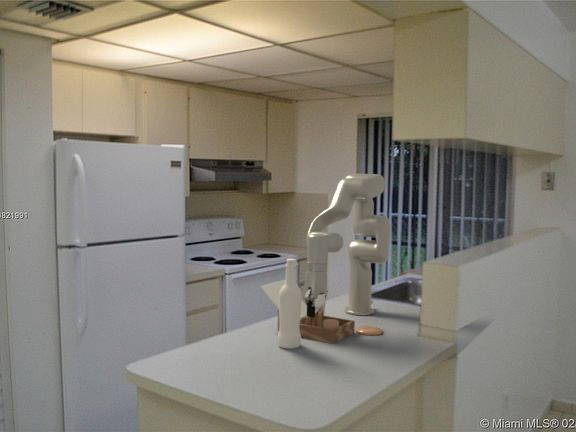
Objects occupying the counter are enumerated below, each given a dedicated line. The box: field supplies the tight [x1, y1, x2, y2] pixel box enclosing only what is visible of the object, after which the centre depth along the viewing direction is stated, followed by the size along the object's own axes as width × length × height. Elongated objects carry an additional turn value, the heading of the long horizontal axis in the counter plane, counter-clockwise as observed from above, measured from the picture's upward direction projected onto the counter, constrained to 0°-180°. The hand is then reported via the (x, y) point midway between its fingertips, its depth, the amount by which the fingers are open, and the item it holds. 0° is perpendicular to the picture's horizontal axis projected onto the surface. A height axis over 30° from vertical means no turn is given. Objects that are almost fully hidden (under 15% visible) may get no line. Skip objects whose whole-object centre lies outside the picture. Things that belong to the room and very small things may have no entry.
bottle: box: [276, 258, 303, 350], centre depth 186 cm, size 8×8×30 cm
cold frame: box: [299, 315, 356, 344], centre depth 203 cm, size 17×18×4 cm
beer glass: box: [308, 292, 326, 328], centre depth 204 cm, size 7×7×15 cm
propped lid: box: [259, 279, 307, 332], centre depth 211 cm, size 17×14×16 cm
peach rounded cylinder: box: [323, 319, 339, 330], centre depth 199 cm, size 6×6×6 cm
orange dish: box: [355, 325, 383, 337], centre depth 207 cm, size 10×10×1 cm
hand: (315, 314), depth 204 cm, fingers closed on beer glass, 6 cm apart
